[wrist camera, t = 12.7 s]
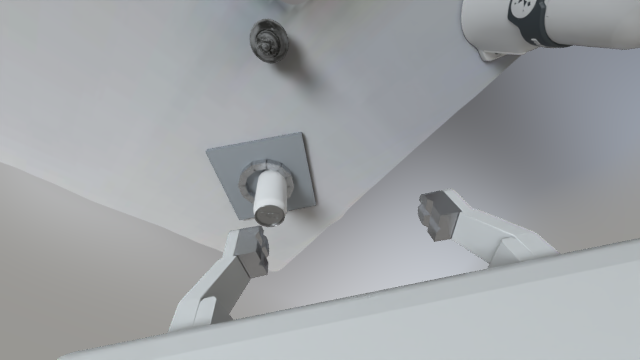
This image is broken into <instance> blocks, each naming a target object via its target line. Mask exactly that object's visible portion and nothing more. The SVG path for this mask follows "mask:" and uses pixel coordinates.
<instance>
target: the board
mask: <svg viewBox="0 0 640 360" xmlns="http://www.w3.org/2000/svg"><path fill="white" fill-rule="evenodd" d="M206 154H207V156H208V158H209V160H210V162H211V164H212V166H213V168H214V170H215V172H216V174H217V176H218V178H219V180H220V182H221V184H222V186H223V188H224V190H225V192H226V194H227V196H228V198H229V200H230V202H231V204H232V206H233V208H234V210H235V212H236V214H237V216H238V218H239V220H243V219H248V218H253V217H255V215H254V212H253V207H254V204H252V203H251V202H249V201H248V200H246V199H245V198H244V197H243V196H242V194H241V192H240V190H239V187H238V183H239V179H240V175H241V171H242V169H243V168H245V167H246V166H247V165H248V164H249V163H251V162H253V161H256V160H261V159H271V160H275V161H279V162H281V163H283V164H284V165H285V166H286V167H287V168H288V169H289V170H290V171H291V172H292V176H293V180H294V189H293V192H292V194H291V197H290V198H289V199H287V211H290V210H295V209H300V208H305V207H310V206H316V202H315V197H314V192H313V187H312V182H311V177H310V172H309V167H308V162H307V157H306V153H305V148H304V143H303V138H302V133H301V132H299V133H293V134H288V135H282V136H277V137H272V138H266V139H261V140H255V141H250V142H245V143H239V144H234V145H228V146H223V147H218V148H212V149H207V151H206ZM266 170H269V169H263V170H258V171H255V172H253V173H252V174H251V175H250V176H249V177H247V181H246V182H247V184H248V187H249V189H250V190H251V191H252V192H254V193H255V194H256V188H257V183H258V178H259V176H260V174H261V173H262V172H264V171H266Z"/></svg>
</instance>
